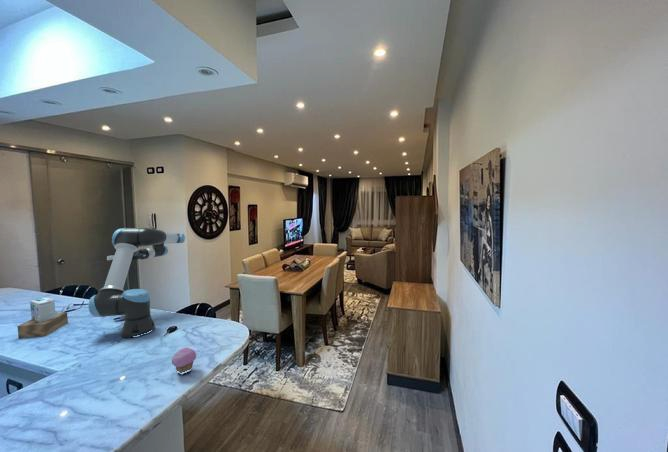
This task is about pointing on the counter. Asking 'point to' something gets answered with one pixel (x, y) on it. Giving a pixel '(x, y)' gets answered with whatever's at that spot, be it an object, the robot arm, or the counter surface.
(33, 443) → the counter surface
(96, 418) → the counter surface
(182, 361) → the cupcake
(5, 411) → the counter surface
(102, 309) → the robot arm
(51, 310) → the light bulb box
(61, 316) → the walnut block
